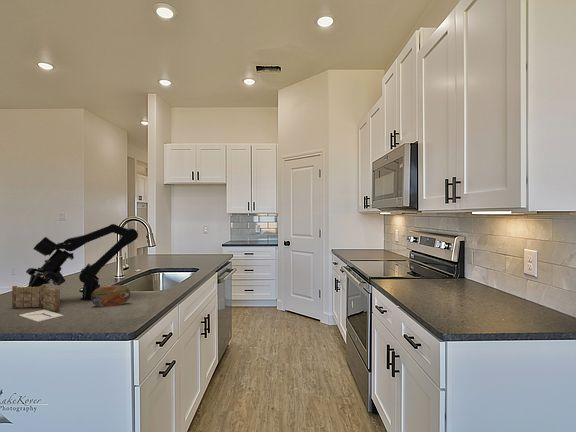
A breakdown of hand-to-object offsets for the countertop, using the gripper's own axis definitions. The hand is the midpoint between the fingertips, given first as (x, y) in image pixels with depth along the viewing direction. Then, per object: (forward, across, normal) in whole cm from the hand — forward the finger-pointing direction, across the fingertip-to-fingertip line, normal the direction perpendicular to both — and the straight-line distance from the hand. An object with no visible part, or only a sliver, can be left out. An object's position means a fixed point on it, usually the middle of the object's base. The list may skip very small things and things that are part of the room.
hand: (28, 292), depth 144 cm
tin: (-9, -24, -20) cm, 33 cm away
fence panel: (+5, -1, -3) cm, 6 cm away
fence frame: (+2, -11, -6) cm, 13 cm away
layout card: (+6, -18, -2) cm, 19 cm away
